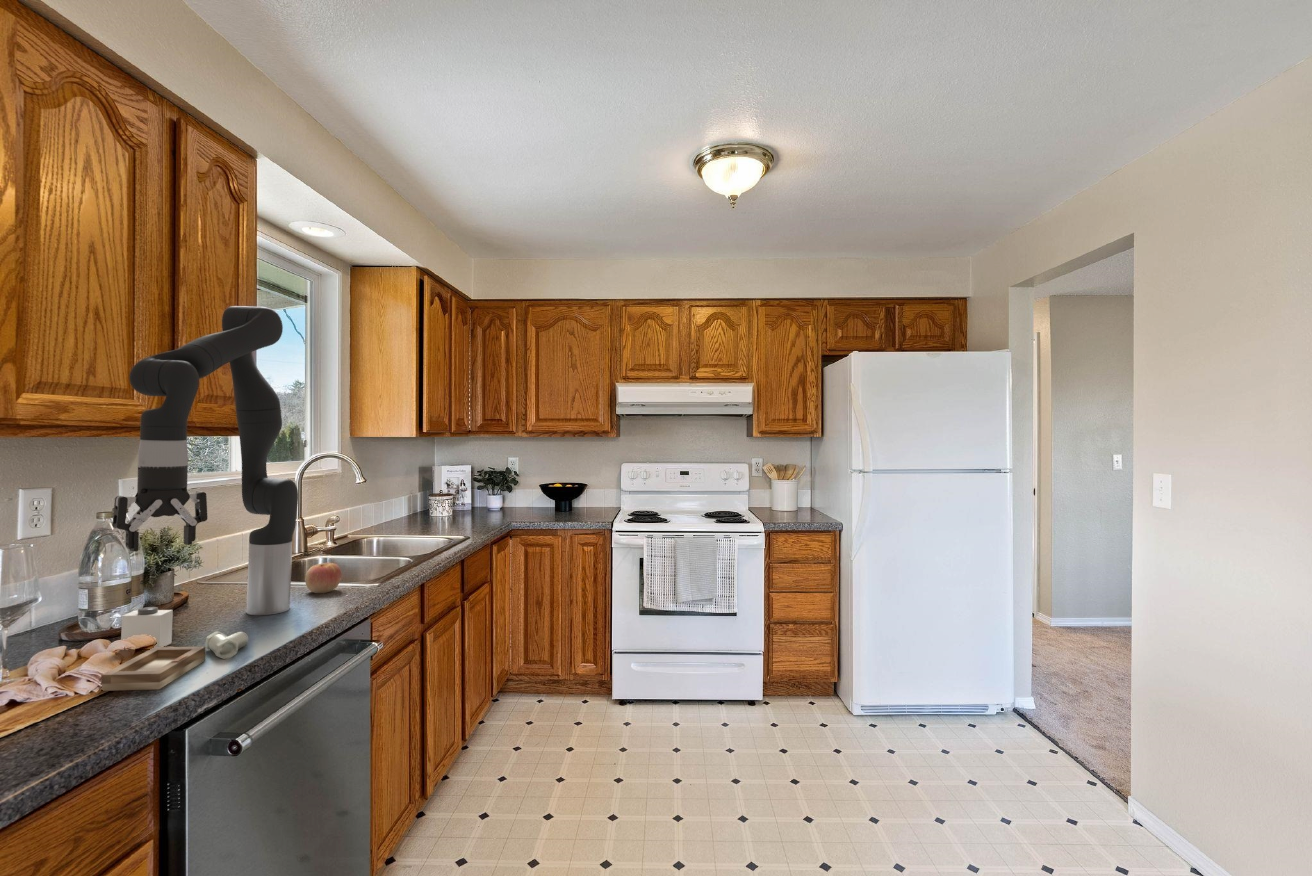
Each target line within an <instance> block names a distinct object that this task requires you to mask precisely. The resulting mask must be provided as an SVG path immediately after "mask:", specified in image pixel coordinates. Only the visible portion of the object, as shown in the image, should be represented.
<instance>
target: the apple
mask: <svg viewBox="0 0 1312 876" xmlns="http://www.w3.org/2000/svg"><path fill="white" fill-rule="evenodd" d="M305 573H306V574H305V586H306V588H307V589H308V590H309V591H310V592H311V593H314V594H326V593H329V592H332V591H334V590H335V589H336V588H337V587H338V586H339V584H340V582H341V579H342V570H341V567H340V566H339V565H338V564H336V563H335V562H334V563H333V562H323V563H317V564H314V565H312V566H310V568H308V570H307V571H306V572H305Z"/></svg>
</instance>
